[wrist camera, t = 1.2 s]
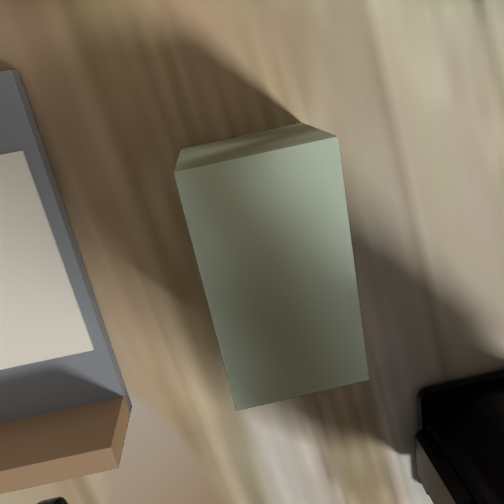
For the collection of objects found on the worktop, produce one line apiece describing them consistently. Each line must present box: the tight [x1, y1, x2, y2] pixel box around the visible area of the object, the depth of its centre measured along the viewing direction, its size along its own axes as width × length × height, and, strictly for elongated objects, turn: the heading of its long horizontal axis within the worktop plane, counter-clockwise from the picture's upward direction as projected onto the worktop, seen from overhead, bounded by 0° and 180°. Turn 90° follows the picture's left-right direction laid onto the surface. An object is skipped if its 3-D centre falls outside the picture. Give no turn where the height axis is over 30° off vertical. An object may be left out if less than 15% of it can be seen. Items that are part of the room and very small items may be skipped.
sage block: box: [173, 122, 369, 411], centre depth 16 cm, size 4×8×5 cm, turn 11°
